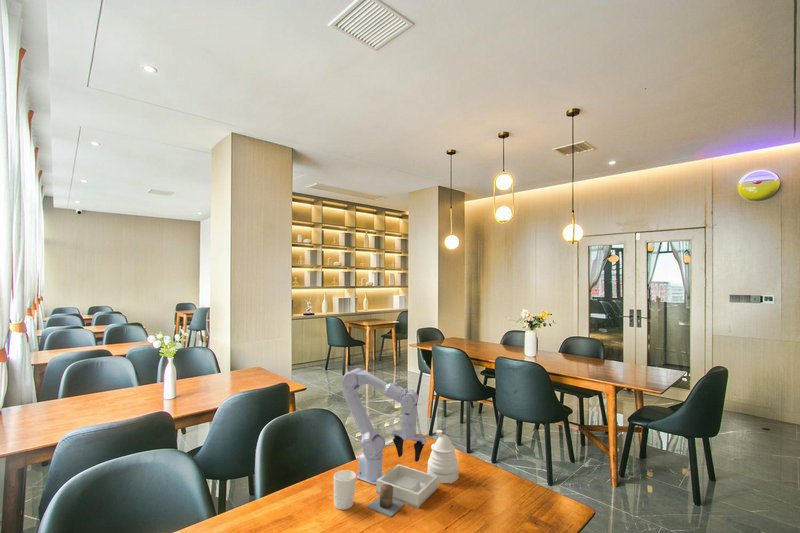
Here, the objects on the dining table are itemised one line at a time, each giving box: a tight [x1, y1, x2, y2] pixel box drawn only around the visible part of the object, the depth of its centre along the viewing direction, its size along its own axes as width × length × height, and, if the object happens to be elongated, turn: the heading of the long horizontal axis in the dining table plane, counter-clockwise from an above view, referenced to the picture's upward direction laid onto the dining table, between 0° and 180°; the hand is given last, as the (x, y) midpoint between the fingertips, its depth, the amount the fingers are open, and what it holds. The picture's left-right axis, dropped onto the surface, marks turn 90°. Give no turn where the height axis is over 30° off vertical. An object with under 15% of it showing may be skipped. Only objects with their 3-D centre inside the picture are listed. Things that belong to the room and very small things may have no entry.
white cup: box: [333, 469, 357, 511], centre depth 133 cm, size 8×8×10 cm
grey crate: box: [375, 463, 439, 509], centre depth 144 cm, size 18×16×4 cm
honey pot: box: [426, 429, 460, 484], centre depth 157 cm, size 13×13×18 cm
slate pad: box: [366, 495, 406, 518], centre depth 133 cm, size 10×9×1 cm
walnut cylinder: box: [379, 484, 394, 509], centre depth 133 cm, size 4×4×6 cm
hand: (408, 458), depth 148 cm, fingers open, 7 cm apart
